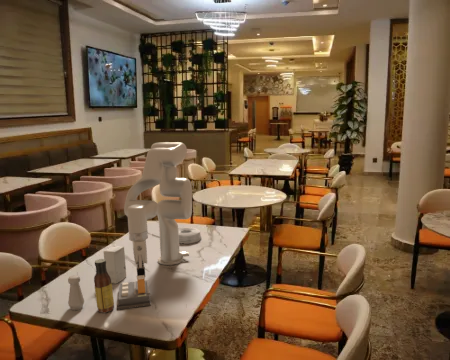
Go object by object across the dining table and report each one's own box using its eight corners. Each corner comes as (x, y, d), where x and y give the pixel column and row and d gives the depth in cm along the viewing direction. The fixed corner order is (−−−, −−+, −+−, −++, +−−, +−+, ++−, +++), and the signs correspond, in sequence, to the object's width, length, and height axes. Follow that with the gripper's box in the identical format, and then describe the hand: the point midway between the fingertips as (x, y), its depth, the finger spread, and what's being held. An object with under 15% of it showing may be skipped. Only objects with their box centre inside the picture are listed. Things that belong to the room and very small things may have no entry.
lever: (145, 290, 159) (144, 275, 158) (145, 292, 157) (144, 277, 156) (137, 291, 158) (136, 275, 157) (138, 293, 156) (137, 278, 155)
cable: (168, 237, 236) (167, 228, 235) (195, 233, 243) (194, 224, 242) (176, 246, 220) (176, 236, 219) (205, 241, 227) (205, 231, 226)
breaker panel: (148, 286, 170) (148, 277, 169) (150, 302, 155) (149, 292, 155) (120, 290, 167) (119, 280, 166) (118, 306, 153) (118, 296, 152)
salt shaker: (71, 304, 155) (68, 273, 153) (86, 303, 156) (83, 272, 153) (66, 312, 149) (63, 280, 147) (82, 311, 150) (79, 279, 148)
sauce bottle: (116, 305, 154) (112, 257, 151) (112, 313, 148) (108, 263, 144) (99, 305, 154) (95, 257, 150) (94, 313, 148) (90, 263, 144)
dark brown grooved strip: (150, 303, 155) (150, 300, 155) (150, 305, 153) (150, 303, 153) (117, 307, 152) (117, 304, 152) (117, 310, 150) (117, 307, 150)
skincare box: (116, 284, 173) (114, 252, 170) (105, 282, 175) (102, 250, 172) (127, 276, 181) (124, 245, 178) (115, 275, 183) (113, 244, 180)
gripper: (148, 240, 153) (151, 283, 157) (147, 228, 168) (149, 268, 171) (128, 242, 152) (132, 286, 155) (129, 230, 166) (132, 270, 169)
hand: (141, 276), depth 163 cm, fingers closed
